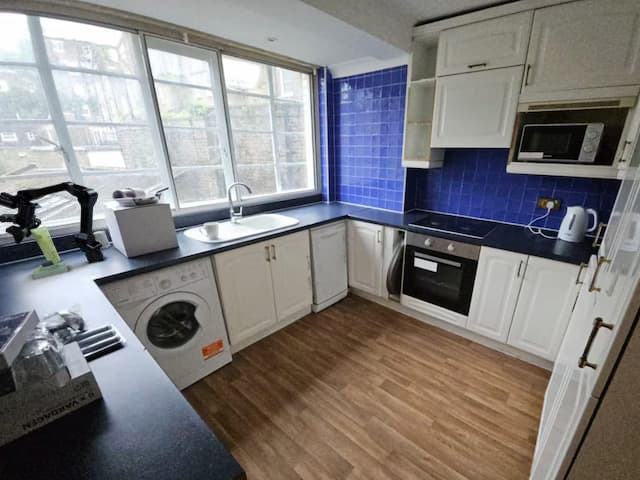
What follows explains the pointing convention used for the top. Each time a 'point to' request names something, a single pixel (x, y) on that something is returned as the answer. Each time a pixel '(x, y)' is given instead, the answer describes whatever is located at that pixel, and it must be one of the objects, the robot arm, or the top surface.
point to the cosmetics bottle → (102, 239)
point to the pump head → (47, 263)
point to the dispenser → (49, 270)
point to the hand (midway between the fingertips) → (22, 240)
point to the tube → (46, 243)
